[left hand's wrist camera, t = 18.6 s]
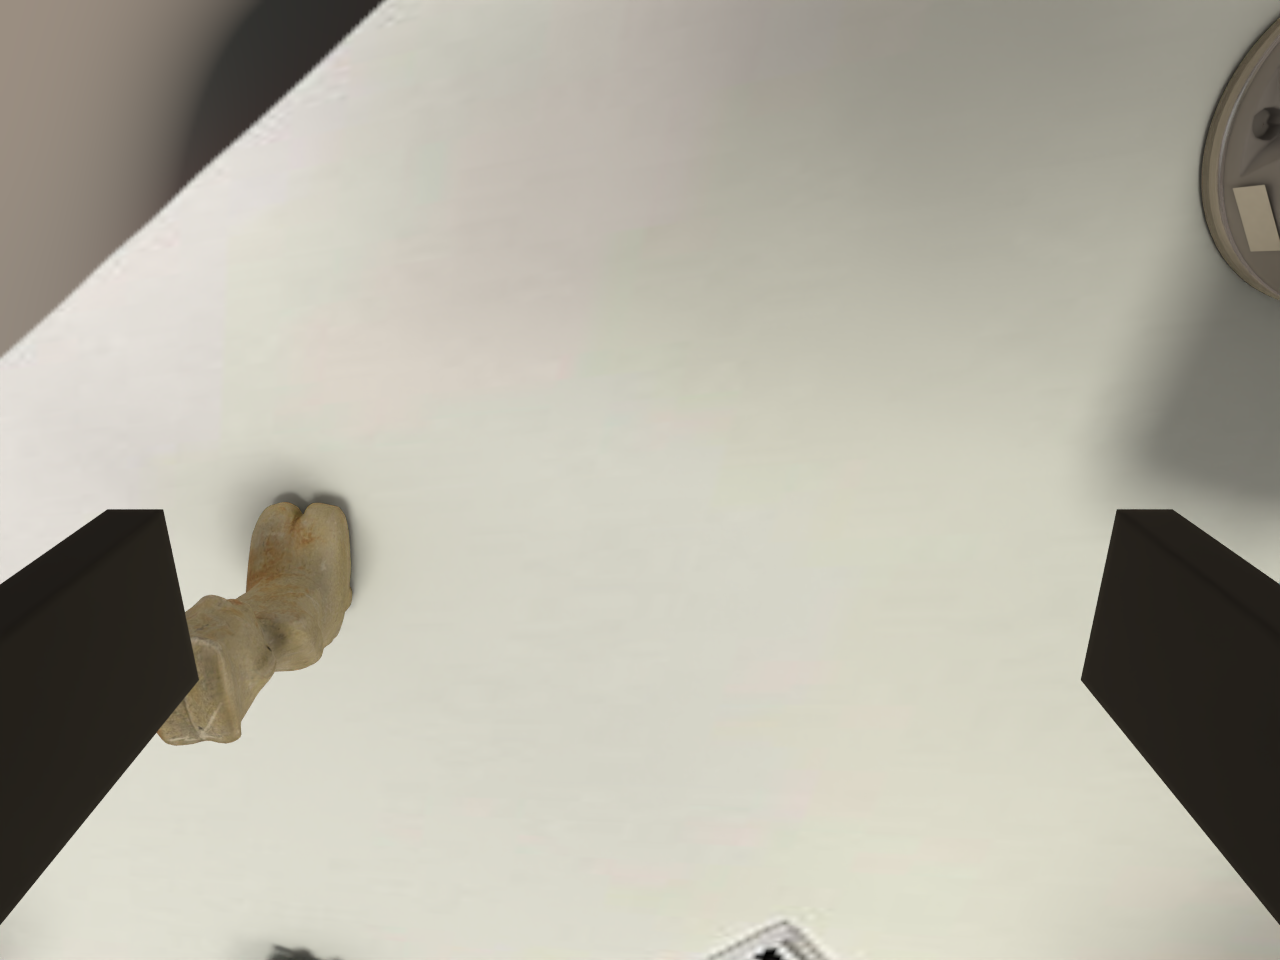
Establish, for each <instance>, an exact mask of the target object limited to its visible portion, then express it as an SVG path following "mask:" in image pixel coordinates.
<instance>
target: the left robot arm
mask: <svg viewBox="0 0 1280 960" xmlns="http://www.w3.org/2000/svg"><path fill="white" fill-rule="evenodd" d="M1201 189H1202V200H1203V207H1204V212H1205V217H1206V221H1207V224H1208V227H1209V231H1210V234H1211V236H1212V238H1213V240H1214V242H1215V245H1216V247H1217V248H1218V250H1219V252H1220V253H1221V255H1222V257H1223V258H1224V260H1225V261H1226V262H1227V263H1228V265H1229V266H1230V267H1231V268H1232V270H1233V271H1234V272H1235V273H1236V274H1238V275H1239V276H1240V277H1241V278H1242V279H1243V280H1244V281H1245V282H1247V283H1248V284H1249V285H1251V286H1252V287H1254V288H1255V289H1257V290H1259V291H1260V292H1262V293H1264V294H1266V295H1268V296H1270V297H1273V298H1275V299H1278V300H1280V18H1279V19H1278V20H1277V21H1276V22H1274V23H1273V24H1272V25H1271V27H1270V28H1269V29H1268V30H1267V31H1266V32H1265V33H1264V34H1263V35H1262V36H1261V37H1260V38H1259V40H1258V41H1257V42H1256V43H1255V45H1254V46H1253V47H1252V48H1251V50H1250V51H1249V52H1248V53H1247V55H1246V56H1245V58H1244V59H1243V61H1242V62H1241V63H1240V65H1239V66H1238V68H1237V69H1236V71H1235V73H1234V74H1233V76H1232V78H1231V80H1230V81H1229V83H1228V85H1227V87H1226V89H1225V91H1224V93H1223V95H1222V97H1221V99H1220V101H1219V103H1218V106H1217V108H1216V111H1215V114H1214V116H1213V119H1212V122H1211V125H1210V129H1209V132H1208V136H1207V139H1206V144H1205V149H1204V155H1203V163H1202V180H1201ZM198 681H199V677H198V672H197V667H196V663H195V658H194V653H193V648H192V644H191V639H190V634H189V630H188V625H187V620H186V615H185V611H184V606H183V601H182V596H181V592H180V587H179V582H178V578H177V573H176V568H175V563H174V559H173V554H172V549H171V544H170V540H169V535H168V530H167V526H166V521H165V516H164V511H163V509H107V510H106V511H105V512H103V513H102V514H100V515H99V516H97V517H96V518H95V519H93V520H92V521H90V522H89V523H87V524H86V525H85V526H83V527H82V528H80V529H79V530H77V531H76V532H75V533H73V534H72V535H70V536H69V537H67V538H66V539H65V540H63V541H62V542H60V543H59V544H57V545H56V546H55V547H53V548H52V549H50V550H49V551H47V552H46V553H45V554H43V555H42V556H40V557H39V558H37V559H36V560H35V561H33V562H32V563H30V564H29V565H27V566H26V567H25V568H23V569H22V570H20V571H19V572H17V573H16V574H15V575H13V576H12V577H10V578H9V579H7V580H6V581H5V582H3V583H2V584H0V925H1V923H2V922H3V921H4V920H5V918H6V917H7V916H8V915H9V914H10V912H11V911H12V910H13V909H14V907H15V906H16V905H17V904H18V902H19V901H20V900H21V899H22V898H23V896H24V895H25V894H26V893H27V891H28V890H29V889H30V888H31V886H32V885H33V884H34V883H35V882H36V880H37V879H38V878H39V877H40V875H41V874H42V873H43V872H44V870H45V869H46V868H47V867H48V866H49V864H50V863H51V862H52V861H53V859H54V858H55V857H56V856H57V854H58V853H59V852H60V851H61V850H62V848H63V847H64V846H65V845H66V843H67V842H68V841H69V840H70V838H71V837H72V836H73V835H74V833H75V832H76V831H77V830H78V829H79V827H80V826H81V825H82V824H83V822H84V821H85V820H86V819H87V817H88V816H89V815H90V814H91V813H92V811H93V810H94V809H95V808H96V806H97V805H98V804H99V803H100V801H101V800H102V799H103V798H104V797H105V795H106V794H107V793H108V792H109V790H110V789H111V788H112V787H113V785H114V784H115V783H116V782H117V781H118V779H119V778H120V777H121V776H122V774H123V773H124V772H125V771H126V769H127V768H128V767H129V766H130V765H131V763H132V762H133V761H134V760H135V758H136V757H137V756H138V755H139V753H140V752H141V751H142V750H143V749H144V747H145V746H146V745H147V744H148V742H149V741H150V740H151V739H152V737H153V736H154V735H155V734H156V733H157V731H158V730H159V729H160V728H161V726H162V725H163V724H164V723H165V721H166V720H167V719H168V718H169V716H170V715H171V714H172V713H173V712H174V710H175V709H176V708H177V707H178V705H179V704H180V703H181V702H182V700H183V699H184V698H185V697H186V696H187V694H188V693H189V692H190V691H191V689H192V688H193V687H194V686H195V684H196V683H197V682H198ZM1081 681H1082V682H1083V683H1084V684H1085V686H1086V687H1087V688H1088V689H1089V691H1090V692H1091V693H1092V694H1093V696H1094V697H1095V698H1096V699H1097V700H1098V702H1099V703H1100V704H1101V705H1102V707H1103V708H1104V709H1105V710H1106V712H1107V713H1108V714H1109V715H1110V717H1111V718H1112V719H1113V720H1114V721H1115V723H1116V724H1117V725H1118V726H1119V728H1120V729H1121V730H1122V731H1123V733H1124V734H1125V735H1126V736H1127V737H1128V739H1129V740H1130V741H1131V742H1132V744H1133V745H1134V746H1135V747H1136V749H1137V750H1138V751H1139V752H1140V753H1141V755H1142V756H1143V757H1144V758H1145V760H1146V761H1147V762H1148V763H1149V765H1150V766H1151V767H1152V768H1153V769H1154V771H1155V772H1156V773H1157V774H1158V776H1159V777H1160V778H1161V779H1162V781H1163V782H1164V783H1165V784H1166V785H1167V787H1168V788H1169V789H1170V790H1171V792H1172V793H1173V794H1174V795H1175V797H1176V798H1177V799H1178V800H1179V801H1180V803H1181V804H1182V805H1183V806H1184V808H1185V809H1186V810H1187V811H1188V813H1189V814H1190V815H1191V816H1192V817H1193V819H1194V820H1195V821H1196V822H1197V824H1198V825H1199V826H1200V827H1201V829H1202V830H1203V831H1204V832H1205V833H1206V835H1207V836H1208V837H1209V838H1210V840H1211V841H1212V842H1213V843H1214V845H1215V846H1216V847H1217V848H1218V850H1219V851H1220V852H1221V853H1222V854H1223V856H1224V857H1225V858H1226V859H1227V861H1228V862H1229V863H1230V864H1231V866H1232V867H1233V868H1234V869H1235V870H1236V872H1237V873H1238V874H1239V875H1240V877H1241V878H1242V879H1243V880H1244V882H1245V883H1246V884H1247V885H1248V886H1249V888H1250V889H1251V890H1252V891H1253V893H1254V894H1255V895H1256V896H1257V898H1258V899H1259V900H1260V901H1261V902H1262V904H1263V905H1264V906H1265V907H1266V909H1267V910H1268V911H1269V912H1270V914H1271V915H1272V916H1273V917H1274V918H1275V920H1276V921H1277V922H1278V923H1279V925H1280V582H1279V584H1278V583H1277V582H1275V581H1274V580H1273V579H1271V578H1270V577H1268V576H1267V575H1265V574H1264V573H1263V572H1261V571H1260V570H1258V569H1257V568H1255V567H1254V566H1253V565H1251V564H1250V563H1248V562H1247V561H1245V560H1244V559H1243V558H1241V557H1240V556H1238V555H1237V554H1235V553H1234V552H1233V551H1231V550H1230V549H1228V548H1227V547H1225V546H1224V545H1223V544H1221V543H1220V542H1218V541H1217V540H1215V539H1214V538H1213V537H1211V536H1210V535H1208V534H1207V533H1205V532H1204V531H1203V530H1201V529H1200V528H1198V527H1197V526H1195V525H1194V524H1193V523H1191V522H1190V521H1188V520H1187V519H1185V518H1184V517H1183V516H1181V515H1180V514H1178V513H1177V512H1175V511H1174V510H1173V509H1117V511H1116V516H1115V521H1114V526H1113V530H1112V535H1111V540H1110V544H1109V549H1108V554H1107V559H1106V563H1105V568H1104V573H1103V578H1102V582H1101V587H1100V592H1099V596H1098V601H1097V606H1096V611H1095V615H1094V620H1093V625H1092V629H1091V634H1090V639H1089V644H1088V648H1087V653H1086V658H1085V663H1084V667H1083V672H1082V677H1081Z"/></svg>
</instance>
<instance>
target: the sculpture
mask: <svg viewBox="0 0 1280 960" xmlns="http://www.w3.org/2000/svg"><path fill="white" fill-rule="evenodd" d="M350 575H351V558H350V542H349V531H348V525H347V520H346V517H345V515H344V513H343V512H342V510H341V509H340V508H339V507H337V506H333V505H328V504H323V503H312V504H311V505H309V506H308V507H307V508H306V510H305V512H304V514H302V512H301V511H300V509H299V508H298V507H297V506H295V505H293V504H291V503H288V502H281V503H278V504H274V505H271V506H269V507H267V508H266V509H265V510H264V511H263V513H262V514H261V515H260V517H259V519H258V521H257V523H256V526H255V529H254V531H253V534H252V539H251V546H250V554H249V562H248V572H247V585H246V593H245V594H243V595H241V596H240V597H238V598H237V599H228V600H227V599H225V598H222V597H219V596H215V595H207V596H205V597H203V598H201V599H200V600H199V601H198V602H197V603H196V604H195V605H194V606H193V607H192V608H190V609H189V610H188V611H186V612H185V615H186V620H187V625H188V630H189V634H190V639H191V644H192V648H193V653H194V658H195V663H196V667H197V672H198V677H199V681H198V682H197V683H196V684H195V686H194V687H193V688H192V689H191V691H190V692H189V693H188V694H187V696H186V697H185V698H184V699H183V700H182V702H181V703H180V704H179V705H178V707H177V708H176V709H175V710H174V712H173V713H172V714H171V715H170V716H169V718H168V719H167V720H166V721H165V723H164V724H163V725H162V726H161V728H160V729H159V730H158V731H157V734H158V735H159V736H160V737H161V739H162V740H163V741H164V742H165V743H167V744H171V745H176V746H177V745H188V744H194V743H198V742H201V741H214V742H218V743H230V742H234V741H236V740H237V739H239V738H240V736H241V721H242V719H243V717H244V716H245V714H246V712H247V711H248V709H249V707H250V706H251V704H252V702H253V701H254V699H255V697H256V696H257V694H258V693H259V691H260V690H261V689H262V688H263V687H264V685H265V684H266V683H267V682H268V681H269V680H270V678H271V677H272V675H273V674H274V672H277V671H294V670H299V669H303V668H306V667H308V666H310V665H312V664H314V663H316V662H317V661H318V660H319V659H320V658H321V656H322V653H323V648H325V647H326V646H327V645H329V644H330V643H331V642H332V640H333V639H334V638H335V637H336V636H337V635H338V633H339V631H340V628H341V625H342V622H343V618H344V614H345V611H346V610H347V609H348V608H349V606H350V604H351V601H352V589H351V587H350V586H349V585H350Z"/></svg>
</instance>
